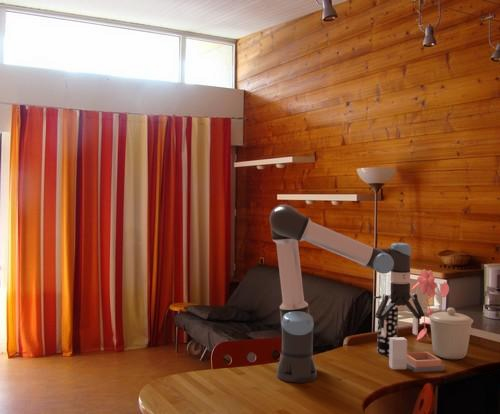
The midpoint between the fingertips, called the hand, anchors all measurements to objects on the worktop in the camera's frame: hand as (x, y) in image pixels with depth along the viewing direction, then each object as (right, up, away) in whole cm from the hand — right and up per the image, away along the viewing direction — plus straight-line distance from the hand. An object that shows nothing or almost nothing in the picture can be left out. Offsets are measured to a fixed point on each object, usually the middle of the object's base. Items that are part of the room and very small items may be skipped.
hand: (399, 335), depth 227 cm
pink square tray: (+10, -13, +4) cm, 17 cm away
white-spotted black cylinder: (0, -13, +21) cm, 25 cm away
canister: (+26, -13, +18) cm, 35 cm away
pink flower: (+21, -13, +35) cm, 43 cm away
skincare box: (-1, -14, +1) cm, 14 cm away
